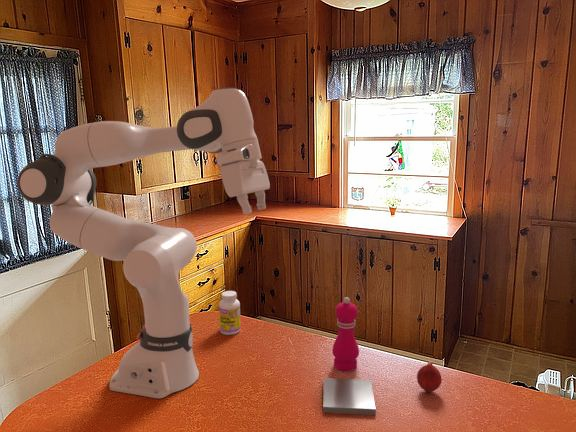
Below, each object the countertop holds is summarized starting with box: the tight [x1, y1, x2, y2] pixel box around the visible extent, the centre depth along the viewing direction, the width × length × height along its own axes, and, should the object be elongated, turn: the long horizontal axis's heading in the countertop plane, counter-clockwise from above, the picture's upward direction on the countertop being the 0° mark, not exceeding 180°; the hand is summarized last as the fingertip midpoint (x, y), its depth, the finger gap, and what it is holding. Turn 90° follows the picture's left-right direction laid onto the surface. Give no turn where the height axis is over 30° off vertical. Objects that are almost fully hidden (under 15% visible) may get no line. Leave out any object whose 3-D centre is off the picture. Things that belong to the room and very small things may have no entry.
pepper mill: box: [331, 296, 360, 373], centre depth 124 cm, size 7×7×20 cm
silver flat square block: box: [322, 377, 377, 416], centre depth 111 cm, size 12×12×2 cm
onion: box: [416, 361, 442, 393], centre depth 113 cm, size 6×6×8 cm
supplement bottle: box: [218, 290, 241, 336], centre depth 146 cm, size 7×7×13 cm
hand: (255, 211), depth 110 cm, fingers open, 8 cm apart
